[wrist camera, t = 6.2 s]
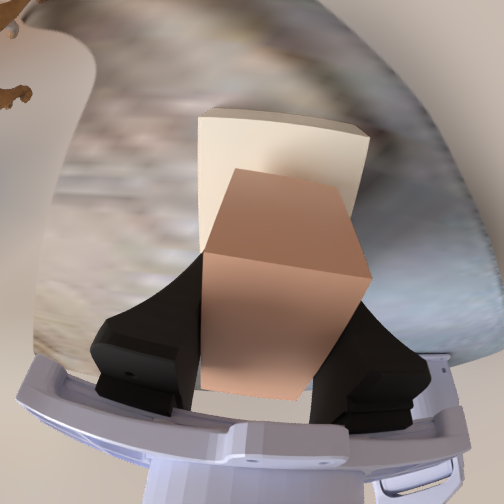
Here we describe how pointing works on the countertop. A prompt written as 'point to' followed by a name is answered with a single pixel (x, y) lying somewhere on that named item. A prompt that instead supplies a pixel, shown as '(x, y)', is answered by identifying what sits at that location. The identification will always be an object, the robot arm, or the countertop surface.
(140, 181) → the countertop surface
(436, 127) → the countertop surface
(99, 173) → the countertop surface
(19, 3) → the lion figurine
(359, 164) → the cream base brick
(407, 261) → the countertop surface
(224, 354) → the terracotta brick
